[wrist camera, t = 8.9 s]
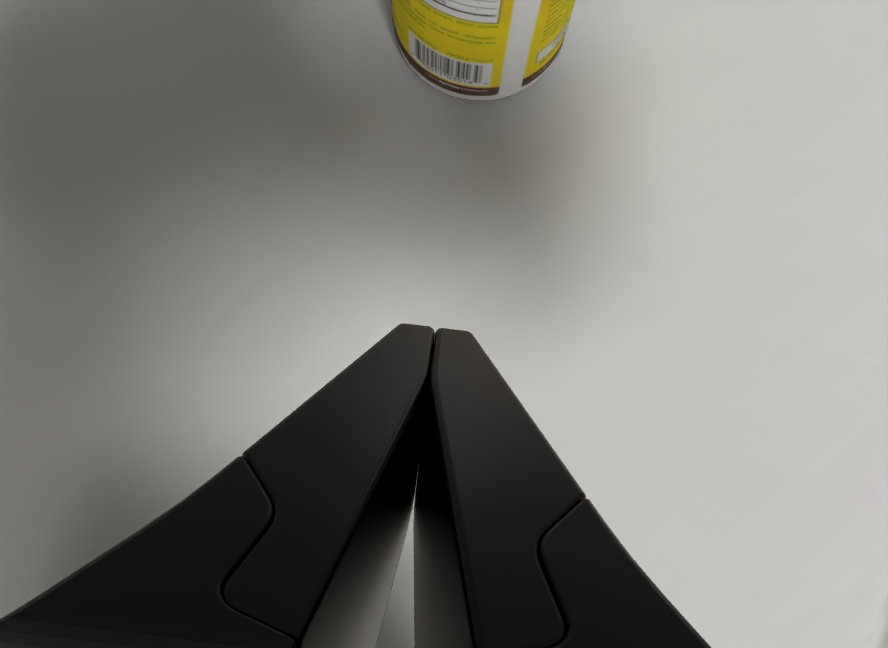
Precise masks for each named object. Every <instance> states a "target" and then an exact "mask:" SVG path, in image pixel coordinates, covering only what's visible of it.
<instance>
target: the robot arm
mask: <svg viewBox="0 0 888 648" xmlns="http://www.w3.org/2000/svg"><path fill="white" fill-rule="evenodd" d="M434 336H435V338H434ZM418 466H419V467H418ZM417 473H418V476H417ZM416 481H417V484H416ZM415 489H416V493H415ZM414 496H415V504H414V528H413V530H414V630H415V648H711V647H710V646H709V645H708V643H707V642H706V641H705V640H704V639H703V638H702V637H701V636H700V635H699V633H698V632H697V631H696V630H695V629H694V628H693V627H692V626H691V625H690V623H689V622H688V621H687V620H686V619H685V618H684V617H683V616H682V615H681V613H680V612H679V611H678V610H677V609H676V608H675V607H674V606H673V605H672V603H671V602H670V601H669V600H668V599H667V598H666V597H665V596H664V594H663V593H662V592H661V591H660V590H659V589H658V587H657V586H656V585H655V584H654V583H653V582H652V580H651V579H650V578H649V577H648V576H647V575H646V573H645V572H644V571H643V570H642V569H641V568H640V566H639V565H638V564H637V563H636V562H635V561H634V559H633V558H632V557H631V556H630V554H629V553H628V552H627V550H626V549H625V548H624V546H623V545H622V544H621V543H620V541H619V540H618V539H617V537H616V536H615V535H614V533H613V532H612V531H611V529H610V528H609V527H608V525H607V524H606V523H605V521H604V520H603V519H602V517H601V516H600V514H599V513H598V511H597V510H596V509H595V507H594V506H593V504H592V503H591V501H590V500H589V499H586V496H585V493H584V492H583V491H582V489H581V488H580V486H579V485H578V484H577V482H576V481H575V479H574V478H573V476H572V475H571V474H570V472H569V471H568V469H567V468H566V466H565V465H564V464H563V462H562V461H561V459H560V458H559V457H558V455H557V454H556V452H555V451H554V449H553V448H552V447H551V445H550V444H549V442H548V441H547V440H546V438H545V437H544V435H543V434H542V432H541V431H540V430H539V428H538V427H537V425H536V424H535V422H534V421H533V420H532V418H531V417H530V415H529V414H528V413H527V411H526V410H525V408H524V407H523V405H522V404H521V403H520V401H519V400H518V398H517V397H516V396H515V394H514V393H513V391H512V390H511V388H510V387H509V386H508V384H507V383H506V381H505V380H504V378H503V377H502V376H501V374H500V373H499V371H498V370H497V369H496V367H495V366H494V364H493V363H492V361H491V360H490V359H489V357H488V356H487V354H486V353H485V351H484V350H483V349H482V347H481V346H480V344H479V343H478V342H477V340H476V339H475V337H474V336H473V335H472V334H471V333H470V332H468V331H462V330H454V329H445V328H440V329H438V330H437V331H436V333H435V332H434V330H433V329H432V328H431V327H429V326H421V325H413V324H400V325H398V326H397V327H396V328H394V329H393V330H392V331H391V332H389V333H388V334H387V335H386V336H385V337H383V338H382V339H381V340H380V341H379V342H377V343H376V344H375V345H374V346H372V347H371V348H370V349H369V350H368V351H366V352H365V353H364V354H363V355H362V356H360V357H359V358H358V359H357V360H355V361H354V362H353V363H352V364H351V365H349V366H348V367H347V368H346V369H345V370H343V371H342V372H341V373H340V374H338V375H337V376H336V377H335V378H334V379H332V380H331V381H330V382H329V383H327V384H326V385H325V386H324V387H323V388H321V389H320V390H319V391H318V392H317V393H315V394H314V395H313V396H312V397H310V398H309V399H308V400H307V401H306V402H304V403H303V404H302V405H301V406H300V407H298V408H297V409H296V410H295V411H293V412H292V413H291V414H290V415H289V416H287V417H286V418H285V419H284V420H282V421H281V422H280V423H279V424H278V425H276V426H275V427H274V428H273V429H272V430H270V431H269V432H268V433H267V434H265V435H264V436H263V437H262V438H261V439H259V440H258V441H257V442H256V443H255V444H253V445H252V446H251V447H250V448H248V449H247V450H246V451H245V452H244V453H243V454H242V456H239V457H237V458H236V459H235V460H233V461H232V462H231V463H230V464H229V465H227V466H226V467H225V468H224V469H222V470H221V471H220V472H219V473H218V474H216V475H215V476H214V477H212V478H211V479H210V480H209V481H207V482H206V483H205V484H203V485H202V486H201V487H199V488H198V489H197V490H196V491H194V492H193V493H192V494H190V495H189V496H188V497H186V498H185V499H184V500H183V501H181V502H180V503H178V504H177V505H175V506H174V507H172V508H171V509H170V510H168V511H167V512H165V513H164V514H162V515H161V516H159V517H158V518H156V519H155V520H153V521H152V522H151V523H149V524H148V525H146V526H145V527H143V528H142V529H140V530H139V531H137V532H136V533H134V534H133V535H131V536H130V537H128V538H127V539H125V540H123V541H122V542H120V543H119V544H117V545H116V546H114V547H113V548H111V549H110V550H108V551H106V552H105V553H103V554H102V555H100V556H99V557H97V558H96V559H94V560H93V561H91V562H89V563H88V564H86V565H85V566H83V567H82V568H80V569H79V570H77V571H76V572H74V573H72V574H71V575H69V576H68V577H66V578H65V579H63V580H62V581H60V582H59V583H57V584H55V585H54V586H52V587H51V588H49V589H48V590H46V591H45V592H43V593H42V594H40V595H38V596H37V597H35V598H34V599H32V600H31V601H29V602H28V603H26V604H25V605H23V606H21V607H20V608H18V609H16V610H15V611H13V612H11V613H9V614H8V615H6V616H4V617H3V618H1V619H0V648H375V647H376V643H377V639H378V636H379V632H380V628H381V625H382V621H383V617H384V614H385V610H386V606H387V603H388V599H389V595H390V592H391V588H392V584H393V581H394V577H395V573H396V570H397V566H398V562H399V559H400V555H401V551H402V548H403V544H404V540H405V537H406V533H407V529H408V525H409V521H410V517H411V513H412V508H413V502H414Z"/></svg>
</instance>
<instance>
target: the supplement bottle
mask: <svg viewBox="0 0 888 648" xmlns="http://www.w3.org/2000/svg"><path fill="white" fill-rule="evenodd" d="M574 2H575V0H392V11H393V24H394V31H395V36H396V40H397V43H398V46H399V48H400V51H401V53H402V55H403V57H404V58H405V60H406V62H407V63H408V64H409V66H410V67H411V68H412V70H413V71H414V72H415V73H416V74H417V75H418V76H419V77H420V78H421V79H422V80H424V81H425V82H426V83H427V84H429V85H430V86H432V87H434V88H435V89H437V90H439V91H441V92H443V93H446V94H448V95H451V96H454V97H458V98H462V99H468V100H479V101H481V100H494V99H500V98H504V97H507V96H511V95H513V94H516V93H518V92H520V91H522V90H524V89H526V88H527V87H529V86H531V85H532V84H534V83H535V82H536V81H537V80H538V79H540V78H541V77H542V76H543V75H544V74H545V73H546V72H547V70H548V69H549V68H550V66H551V65H552V64H553V62H554V61H555V59H556V57H557V56H558V54H559V52H560V49H561V47H562V43H563V40H564V37H565V34H566V30H567V27H568V24H569V21H570V16H571V13H572V10H573V6H574Z"/></svg>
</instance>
